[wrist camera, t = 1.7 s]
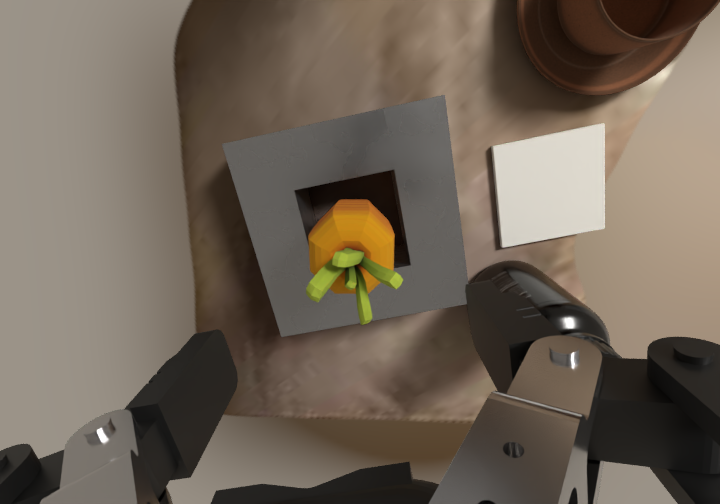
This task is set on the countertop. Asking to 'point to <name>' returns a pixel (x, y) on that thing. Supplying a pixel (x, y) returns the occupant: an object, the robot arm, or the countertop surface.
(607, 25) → the cup and saucer
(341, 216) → the carrot
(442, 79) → the countertop surface
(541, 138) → the plastic pad
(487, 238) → the countertop surface
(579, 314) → the supplement bottle
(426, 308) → the metal housing
